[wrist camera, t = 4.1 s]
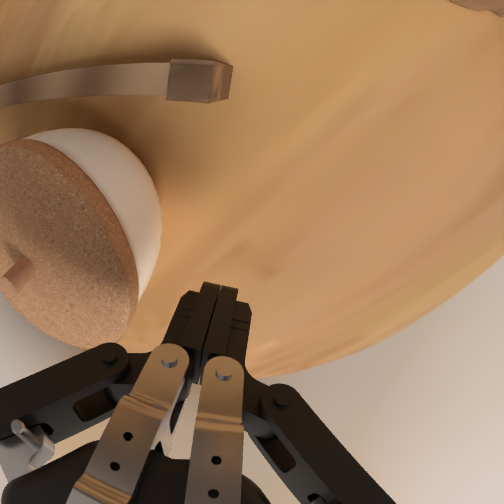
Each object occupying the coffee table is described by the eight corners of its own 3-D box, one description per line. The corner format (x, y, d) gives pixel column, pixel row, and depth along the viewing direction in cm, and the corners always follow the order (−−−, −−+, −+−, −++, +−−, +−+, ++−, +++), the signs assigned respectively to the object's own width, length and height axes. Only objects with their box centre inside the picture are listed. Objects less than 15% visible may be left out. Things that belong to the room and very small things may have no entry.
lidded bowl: (123, 287, 24) (62, 386, 15) (32, 186, 20) (-57, 254, 10) (227, 210, 19) (170, 340, 10) (108, 73, 15) (-33, 98, 5)
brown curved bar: (233, 66, 14) (214, 60, 10) (228, 98, 15) (207, 103, 11) (-14, 88, 14) (-49, 99, 11) (-14, 108, 16) (-48, 121, 12)
